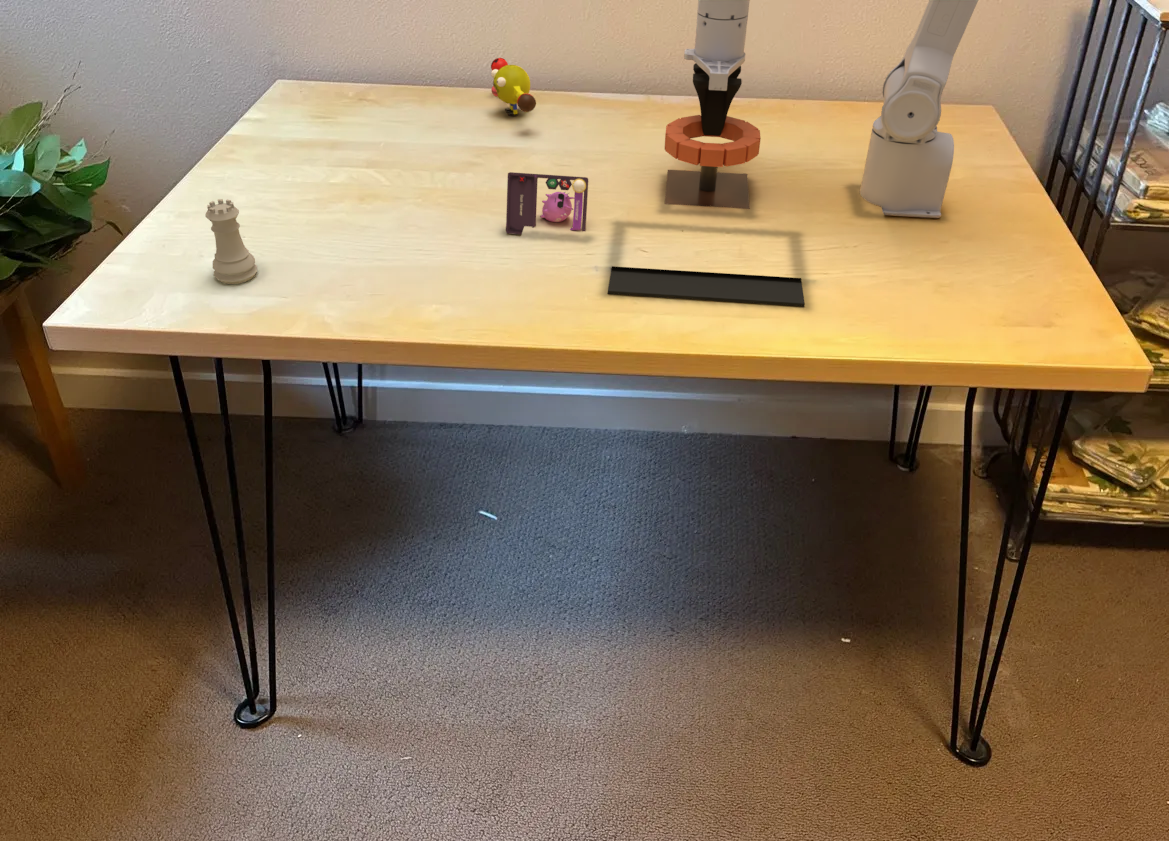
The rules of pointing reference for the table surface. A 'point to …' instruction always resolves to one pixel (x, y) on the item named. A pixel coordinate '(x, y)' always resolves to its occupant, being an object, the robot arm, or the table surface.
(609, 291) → the tray
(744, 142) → the ring
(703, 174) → the stand
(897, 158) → the robot arm
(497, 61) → the toy figure
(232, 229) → the rook chess piece
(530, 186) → the game card
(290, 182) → the table surface
